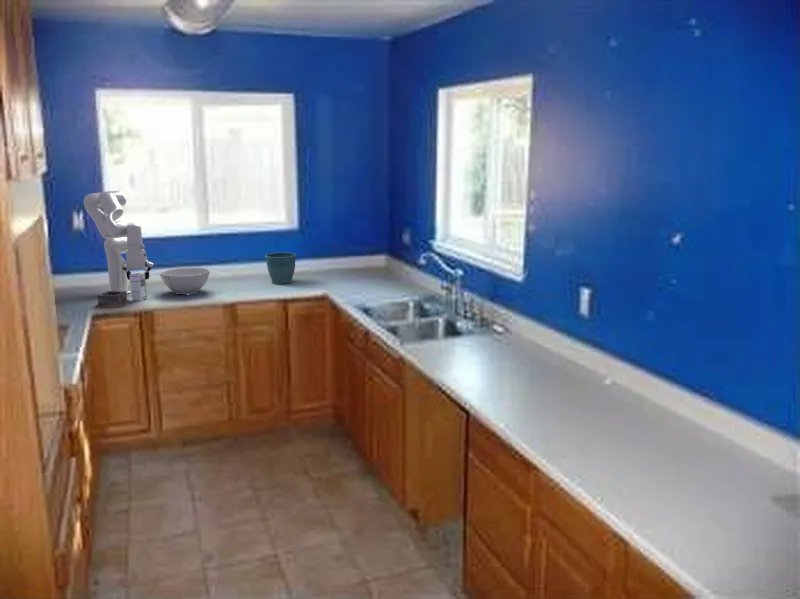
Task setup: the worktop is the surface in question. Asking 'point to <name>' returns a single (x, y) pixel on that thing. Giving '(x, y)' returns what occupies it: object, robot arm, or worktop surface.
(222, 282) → the worktop surface
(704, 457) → the worktop surface
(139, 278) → the syrup box
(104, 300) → the dark grey open box
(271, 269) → the flower pot
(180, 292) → the decorative bowl
